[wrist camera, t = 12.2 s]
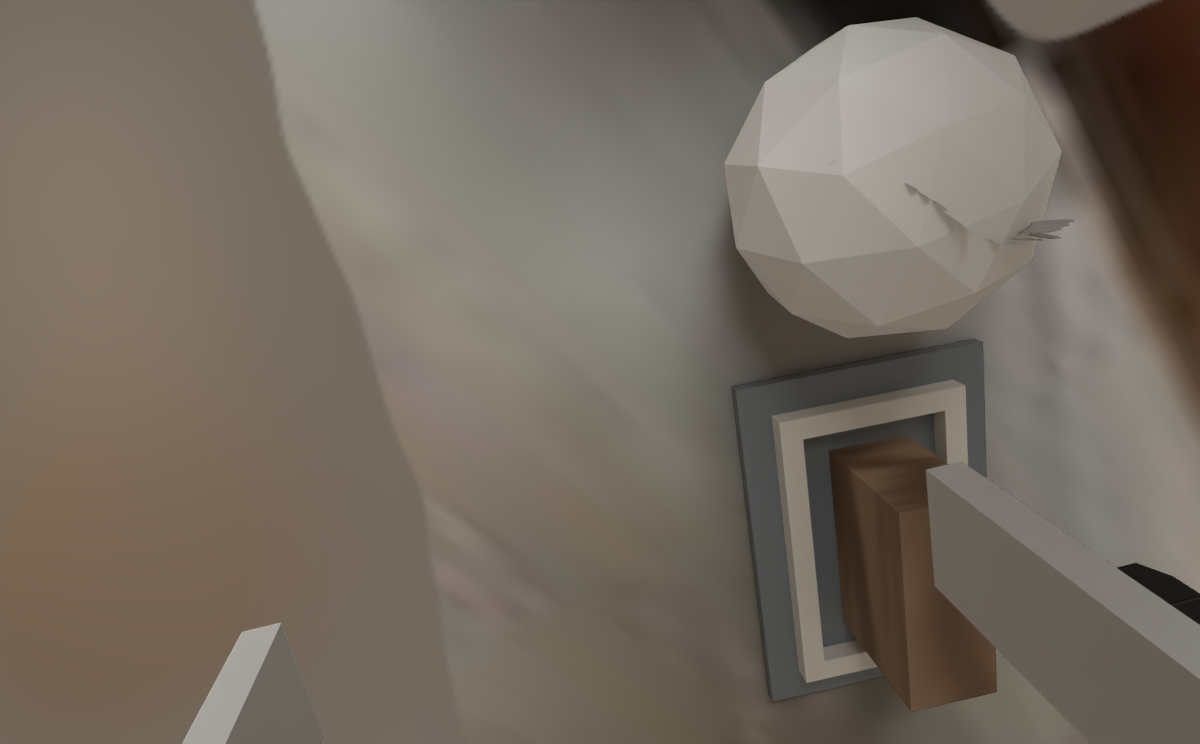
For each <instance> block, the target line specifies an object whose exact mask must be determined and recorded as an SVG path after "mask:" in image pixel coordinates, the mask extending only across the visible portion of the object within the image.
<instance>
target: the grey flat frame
mask: <svg viewBox="0 0 1200 744" xmlns="http://www.w3.org/2000/svg"><path fill="white" fill-rule="evenodd" d="M732 395H733V403H734V411H735V419H736V428H737V436H738V444H739V452H740V461H741V469H742V477H743V486H744V494H745V502H746V510H747V519H748V527H749V535H750V543H751V552H752V560H753V568H754V576H755V585H756V593H757V601H758V609H759V618H760V626H761V634H762V642H763V651H764V659H765V667H766V675H767V684H768V692H769V695H770V697H771V699H772V701H773V702H774V701H779V700H783V699H788V698H792V697H796V696H801V695H805V694H809V693H814V692H818V691H822V690H827V689H831V688H836V687H840V686H844V685H849V684H853V683H857V682H862V681H866V680H870V679H875V678H879V677H884V675H883V673H882V672H881V671H880V669H879V668H878V667H877V665H876V664H875V663H874V661H873V660H872V659H871V657H870V656H869V655H868V653H867V652H866V651H865V649H864V648H863V647H862V645H861V644H860V643H859V641H858V640H857V639H856V637H855V636H854V635H853V633H852V632H851V631H850V629H849V628H848V627H847V625H846V624H845V622H844V621H843V611H842V599H841V588H840V576H839V565H838V554H837V542H836V531H835V519H834V508H833V497H832V485H831V474H830V462H829V451H830V450H834V449H839V448H844V447H849V446H854V445H859V444H864V443H868V442H873V441H878V440H883V439H888V438H893V437H898V436H902V435H907V436H908V437H910V438H911V439H912V440H914V441H915V442H917V443H918V444H920V445H921V446H923V447H924V448H926V449H927V450H929V451H930V452H932V453H933V454H934V455H936V456H937V457H939V458H940V459H942V460H943V461H945V462H946V463H948V464H952V463H956V462H960V461H962V462H963V463H965V464H966V465H967V466H969V467H970V468H972V469H973V470H975V471H976V472H978V473H979V474H981V475H982V476H984V477H985V478H986V439H985V401H984V362H983V342H981V341H978V340H976V339H972V340H967V341H962V342H957V343H952V344H946V345H941V346H936V347H931V348H926V349H921V350H916V351H911V352H906V353H901V354H896V355H891V356H885V357H880V358H875V359H870V360H865V361H860V362H855V363H850V364H845V365H840V366H835V367H830V368H824V369H819V370H814V371H809V372H804V373H799V374H794V375H789V376H784V377H779V378H774V379H769V380H763V381H758V382H753V383H748V384H743V385H738V386H733V387H732ZM986 479H987V478H986Z"/></svg>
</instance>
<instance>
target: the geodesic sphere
mask: <svg viewBox="0 0 1200 744" xmlns="http://www.w3.org/2000/svg"><path fill="white" fill-rule="evenodd" d="M1061 153H1062V151H1061V149H1060V147H1059V145H1058V143H1057V141H1056V138H1055V136H1054V134H1053V132H1052V130H1051V128H1050V126H1049V124H1048V122H1047V120H1046V118H1045V116H1044V114H1043V112H1042V110H1041V108H1040V106H1039V104H1038V102H1037V100H1036V98H1035V96H1034V94H1033V92H1032V89H1031V87H1030V85H1029V83H1028V81H1027V79H1026V77H1025V75H1024V73H1023V71H1022V69H1021V67H1020V65H1019V63H1018V61H1017V59H1016V57H1015V55H1012V54H1010V53H1007V52H1005V51H1002V50H999V49H997V48H994V47H992V46H989V45H987V44H984V43H981V42H979V41H976V40H974V39H971V38H969V37H966V36H963V35H961V34H958V33H956V32H953V31H951V30H948V29H945V28H943V27H940V26H938V25H935V24H933V23H930V22H927V21H925V20H922V19H920V18H917V17H913V18H905V19H897V20H888V21H880V22H872V23H863V24H855V25H848V26H846V27H845V28H843V29H842V30H840V31H838V32H837V33H835V34H834V35H832V36H830V37H829V38H827V39H825V40H824V41H822V42H821V43H819V44H817V45H816V46H814V47H813V48H811V49H810V50H809V51H807V52H806V53H805V54H803V55H802V56H800V57H799V58H798V59H796V60H795V61H793V62H792V63H791V64H789V65H788V66H787V67H785V68H784V69H782V70H781V71H780V72H778V73H777V74H776V75H774V76H773V77H771V78H770V79H769V80H767V81H766V82H765V83H764V85H763V87H762V89H761V91H760V93H759V95H758V97H757V99H756V101H755V103H754V105H753V107H752V109H751V111H750V113H749V115H748V117H747V119H746V121H745V123H744V125H743V127H742V129H741V131H740V133H739V135H738V137H737V139H736V141H735V143H734V145H733V147H732V149H731V151H730V153H729V155H728V157H727V159H726V161H725V163H724V170H725V177H726V184H727V190H728V197H729V204H730V211H731V218H732V224H733V231H734V238H735V245H736V249H737V250H738V251H739V253H740V254H741V256H742V257H743V259H744V260H745V261H746V263H747V264H748V266H749V267H750V268H751V270H752V271H753V273H754V274H755V275H756V277H757V278H758V280H759V281H760V283H761V284H762V285H763V287H764V288H765V290H766V291H767V292H768V294H769V295H771V296H772V297H773V298H774V299H775V300H776V301H778V302H779V303H780V304H781V305H782V306H783V307H784V308H786V309H787V310H788V311H789V312H790V313H791V314H793V315H795V316H798V317H800V318H802V319H804V320H807V321H809V322H811V323H814V324H816V325H818V326H820V327H823V328H825V329H827V330H829V331H832V332H834V333H836V334H838V335H841V336H843V337H845V338H856V337H866V336H877V335H888V334H898V333H909V332H920V331H930V330H941V329H948V328H949V327H950V326H952V325H953V324H954V323H955V322H956V321H958V320H959V319H960V318H961V317H963V316H964V315H965V314H966V313H968V312H969V311H970V310H971V309H972V308H974V307H975V306H976V305H977V304H979V303H980V302H981V301H982V300H984V299H985V298H986V297H987V296H988V295H990V294H991V293H992V292H993V291H995V290H996V289H997V288H998V287H1000V286H1001V285H1002V284H1003V283H1004V282H1006V281H1007V280H1008V279H1009V278H1011V277H1012V276H1013V275H1014V274H1016V273H1017V272H1018V271H1019V270H1020V269H1022V268H1023V267H1024V266H1025V265H1027V264H1028V263H1029V262H1030V261H1031V260H1033V257H1034V254H1035V250H1036V246H1037V242H1038V241H1039V240H1041V239H1039V237H1041V238H1049V239H1056V238H1061V237H1058V236H1054V235H1053V236H1052V235H1047V234H1040V233H1041V232H1053V231H1054V230H1061V227H1064V226H1068V225H1069V224H1066V223H1067V222H1068V223H1069V222H1073V221H1074V220H1071V219H1070V220H1065V219H1064V220H1047V221H1043V220H1044V216H1045V213H1046V209H1047V205H1048V201H1049V198H1050V194H1051V190H1052V186H1053V183H1054V179H1055V175H1056V172H1057V168H1058V164H1059V160H1060V157H1061Z"/></svg>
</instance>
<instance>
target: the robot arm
mask: <svg viewBox="0 0 1200 744" xmlns="http://www.w3.org/2000/svg"><path fill="white" fill-rule="evenodd" d="M926 481H927V493H928V506H929V519H930V532H931V545H932V558H933V570H934V583H935V587H936V588H937V589H938V590H939V591H940V592H941V593H942V594H943V595H944V596H945V597H946V598H947V599H948V600H949V601H950V602H951V603H952V604H953V605H954V606H955V607H956V608H957V609H958V610H959V611H960V612H961V613H962V614H963V615H964V616H965V617H966V618H967V619H968V620H969V621H970V622H971V623H972V624H973V625H974V626H975V627H976V628H977V629H978V630H979V631H980V632H981V633H982V634H983V635H984V636H985V638H986V639H987V640H988V641H989V642H990V643H991V644H992V645H993V646H994V647H995V648H996V649H997V650H998V651H999V652H1000V653H1001V654H1002V655H1003V656H1004V657H1005V658H1006V659H1007V660H1008V661H1009V662H1010V663H1011V664H1012V665H1013V666H1014V667H1015V668H1016V669H1017V670H1018V671H1019V672H1020V673H1021V674H1022V675H1023V676H1024V677H1025V678H1026V679H1027V680H1028V681H1029V682H1030V683H1031V684H1032V685H1033V686H1034V687H1035V688H1036V689H1037V690H1038V691H1039V692H1040V693H1041V694H1042V695H1043V696H1044V697H1045V699H1046V700H1047V701H1048V702H1049V703H1050V704H1051V705H1052V706H1053V707H1054V708H1055V709H1056V710H1057V711H1058V712H1059V713H1060V714H1061V715H1062V716H1063V717H1064V718H1065V719H1066V720H1067V721H1068V722H1069V723H1070V724H1071V725H1072V726H1073V727H1074V728H1075V729H1076V730H1077V731H1078V732H1079V733H1080V734H1081V735H1082V736H1083V737H1084V738H1085V739H1086V740H1087V741H1088V742H1089V743H1090V744H1200V594H1199V593H1198V592H1196V591H1195V590H1193V589H1192V588H1190V587H1188V586H1187V585H1185V584H1184V583H1182V582H1181V581H1179V580H1178V579H1176V578H1174V577H1173V576H1170V575H1168V574H1165V573H1162V572H1159V571H1157V570H1154V569H1151V568H1148V567H1146V566H1143V565H1140V564H1137V563H1134V564H1130V565H1126V566H1122V567H1118V568H1116V567H1115V566H1113V565H1112V564H1110V563H1109V562H1107V561H1106V560H1104V559H1103V558H1101V557H1100V556H1099V555H1097V554H1096V553H1094V552H1093V551H1091V550H1090V549H1088V548H1087V547H1085V546H1084V545H1083V544H1081V543H1080V542H1078V541H1077V540H1075V539H1074V538H1072V537H1071V536H1069V535H1068V534H1067V533H1065V532H1064V531H1062V530H1061V529H1059V528H1058V527H1056V526H1055V525H1053V524H1052V523H1051V522H1049V521H1048V520H1046V519H1045V518H1043V517H1042V516H1040V515H1039V514H1037V513H1036V512H1034V511H1033V510H1032V509H1030V508H1029V507H1027V506H1026V505H1024V504H1023V503H1021V502H1020V501H1018V500H1017V499H1016V498H1014V497H1013V496H1011V495H1010V494H1008V493H1007V492H1005V491H1004V490H1002V489H1001V488H1000V487H998V486H997V485H995V484H994V483H992V482H991V481H989V480H988V479H986V478H985V477H984V476H982V475H981V474H979V473H978V472H976V471H975V470H973V469H972V468H970V467H969V466H967V465H966V464H965V463H963V462H962V461H960V462H956V463H952V464H948V465H943V466H939V467H935V468H931V469H927V470H926ZM322 740H323V734H322V731H321V728H320V726H319V723H318V720H317V718H316V715H315V712H314V709H313V707H312V704H311V701H310V699H309V696H308V693H307V690H306V688H305V685H304V682H303V680H302V677H301V674H300V672H299V669H298V666H297V663H296V661H295V658H294V655H293V652H292V650H291V647H290V644H289V642H288V639H287V636H286V633H285V631H284V628H283V625H282V623H277V624H273V625H269V626H265V627H260V628H256V629H252V630H248V631H244V632H242V633H241V635H240V636H239V638H238V640H237V642H236V644H235V646H234V648H233V650H232V651H231V653H230V655H229V657H228V659H227V661H226V663H225V664H224V666H223V668H222V670H221V672H220V674H219V676H218V677H217V679H216V681H215V683H214V685H213V687H212V689H211V691H210V692H209V694H208V696H207V698H206V700H205V702H204V704H203V706H202V707H201V709H200V711H199V713H198V715H197V717H196V719H195V720H194V722H193V724H192V726H191V728H190V730H189V732H188V734H187V735H186V738H185V739H184V741H183V743H182V744H321V743H322Z"/></svg>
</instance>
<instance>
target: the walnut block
mask: <svg viewBox="0 0 1200 744" xmlns="http://www.w3.org/2000/svg"><path fill="white" fill-rule="evenodd" d="M829 462H830V474H831V485H832V497H833V508H834V519H835V531H836V542H837V554H838V565H839V576H840V588H841V599H842V611H843V621H844V622H845V624H846V625H847V627H848V628H849V629H850V631H851V632H852V633H853V635H854V636H855V637H856V639H857V640H858V641H859V643H860V644H861V645H862V647H863V648H864V649H865V651H866V652H867V653H868V655H869V656H870V657H871V659H872V660H873V661H874V663H875V664H876V665H877V667H878V668H879V669H880V671H881V672H882V673H883V675H884V676H885V677H886V679H887V680H888V681H889V683H890V684H891V686H892V687H893V688H894V690H895V691H896V692H897V694H898V695H899V696H900V698H901V699H902V700H903V702H904V703H905V704H906V706H907V707H908V708H909V710H910V711H911V712H914V711H918V710H922V709H927V708H931V707H935V706H939V705H944V704H948V703H952V702H956V701H961V700H965V699H969V698H974V697H978V696H982V695H986V694H991V693H995V692H997V685H996V648H995V647H994V646H993V645H992V644H991V643H990V642H989V641H988V640H987V639H986V638H985V636H984V635H983V634H982V633H981V632H980V631H979V630H978V629H977V628H976V627H975V626H974V625H973V624H972V623H971V622H970V621H969V620H968V619H967V618H966V617H965V616H964V615H963V614H962V613H961V612H960V611H959V610H958V609H957V608H956V607H955V606H954V605H953V604H952V603H951V602H950V601H949V600H948V599H947V598H946V597H945V596H944V595H943V594H942V593H941V592H940V591H939V590H938V589H937V588H936V587H935V583H934V570H933V558H932V545H931V532H930V519H929V506H928V493H927V481H926V470H927V469H931V468H935V467H939V466H943V465H948V463H946V462H945V461H943V460H942V459H940V458H939V457H937V456H936V455H934V454H933V453H932V452H930V451H929V450H927V449H926V448H924V447H923V446H921V445H920V444H918V443H917V442H915V441H914V440H912V439H911V438H910V437H908V436H907V435H902V436H898V437H893V438H888V439H883V440H878V441H873V442H868V443H864V444H859V445H854V446H849V447H844V448H839V449H834V450H830V451H829Z"/></svg>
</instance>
